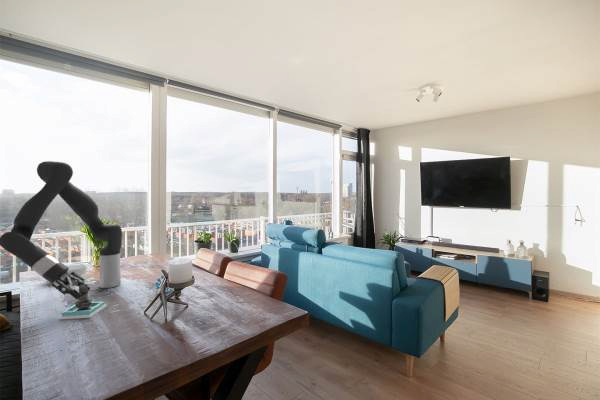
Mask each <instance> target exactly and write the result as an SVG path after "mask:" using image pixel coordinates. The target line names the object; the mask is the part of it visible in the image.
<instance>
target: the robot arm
mask: <svg viewBox="0 0 600 400" xmlns="http://www.w3.org/2000/svg"><path fill="white" fill-rule="evenodd" d="M36 173H37V175H38V177H39V178H40V180H41V181H42V182H44V183H45V184H44V185H43V187H42V188H41V189H40V190H39V191H38V192H37V193H36V194H34V195H33V196H32V197H31V198H29V199H28V200H27V201H26V202H25V203H24V204H23V205H22V206H21V208H20V210H19V211H18V213H17V214H16V216H15V217H14V220H13V227H12V229H11V230H10V231H7V232H4V233H3V234H1V235H0V247H1V248H2V249H4V250H5V251H7V252H8V253H10V254H12V255H13V256H14V257H16V258H18V259H20V260H21V261H22V262H23V263H24V264H25V265H27V266H28V267H29V268H31V269H32V270H33V271H34V272H35V273H37V274H38V275H39V276H40V277H42V278H43V279H45V280H46V281H47V282H49V283H50V284H52V286H53V288H55V289H56V290H58V291H59V292H60V293H61V294H63V295H66V294H67V295H70V296H72V297H73V298H74V299H76V300H79V298H80V297H81V296H82V294H81V293H79V290H77V289H75V288H74V287H78V288H79V286H80V285H81V284H83V282H84V283H85V278H83V277H82V276H81V277H80V276H79V275H78V274H76V273H75V272H72V273H70V274H69V273H67V271H68V270H69V268H68V267H66V266H67V265H65V264H64V263H62V262H61V261H59V260H58V259H57V258H56V257H54V256H52V255H51V254H49V253H48V252H47V251H45V250H44V249H43V248H41V247H39V246H38V245H36V244H34V243H33V242H32V241H31V239H32V236H33V235H34V234H33V233H34V231H35V228H36V227H37V225H38V223H39V222H40V220H41V218H42V217H43V216H44V213H45V212H46V210H47V209H48V207H49V206H50V204H51V203H52V202H53V201H54V200H55V198H56V197H57V196H59V197H60V198H61V199H62V200H63V201H64V202H65V204H67V205H68V207H70V209H71V210H72V211H73V212H74V213H75V215H77V216H78V217H79V218H80V219H81V220H82V221H83V223H84V224H85V225H86V226H87V227H88V228H89V230H90V231H91V232H92V234H93V236H94V237H95V238H96V239H97V240H99V241H100V242H107V244H106V246H105V247H103V248H101V249H100V250H99V287H100V288H101V289H111V288H115V287H119V286H120V285H121V283H122V282H121V281H122V280H121V276H122V275H121V271H122V270H121V249H122V245H123V244H122V241H123V231H122V227H121V226H120V225H118V224H115V223H114V224H113V223H112V224H110V223H108V224H107V223H105V222H103V220H101V219H100V217H99V206H98V205H97V203H96V202H95V200H94V199H93V197H92V196H90V195H89V194H88V193H86V192H85V191H84V190H82V189H81V188H79V187H77V186H76V185H74V184H73V183H72V182H70V181H71V179H72V178H73V176H74V170H73V167H72V166H71V165H70V164H68V163H66V162H63V161H62V162H61V161H50V160H49V161H48V160H47V161H42V162H40V163H39V164H38V165H37V168H36ZM90 290H91V287H90V286H88V291H90Z"/></svg>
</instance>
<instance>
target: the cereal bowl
mask: <svg viewBox="0 0 600 400" xmlns="http://www.w3.org/2000/svg"><path fill="white" fill-rule="evenodd" d="M65 266H66V267H68V268H69V270H68V271H67V273H69V274H70V273H72V272H75V273H76V274H78V275H79V276H80V277H82V276H84V275H85V274H86V273H87V269H88V265H86V264H72V265H71V264H70V265H65Z"/></svg>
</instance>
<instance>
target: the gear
mask: <svg viewBox="0 0 600 400" xmlns="http://www.w3.org/2000/svg"><path fill="white" fill-rule="evenodd" d="M162 279H165V276H164V275H161V276H160V277H159V278H157V282H155V286H156V290H160V289H161V288H160V287H161V286H160V284H161V281H162ZM159 288H160V289H159ZM168 290H169V291H172V292H173V288H171V289H169V288H167V291H168Z"/></svg>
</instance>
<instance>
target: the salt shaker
mask: <svg viewBox="0 0 600 400" xmlns="http://www.w3.org/2000/svg"><path fill="white" fill-rule="evenodd" d="M89 291H90V290H89ZM89 291H88V284H87V283H86V282H85V281H84V282H83V284H81V285H80V286H79V287H78V292H79V293H81V294H82V296H81V297H80V298H78V299H77V301H75V302H74V305H76V307H77V308H78V310H76V311H82V310H90V309H91V308H90V307H89V306H90V305H91V302H93V298H92V299H91V298H89Z"/></svg>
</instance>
